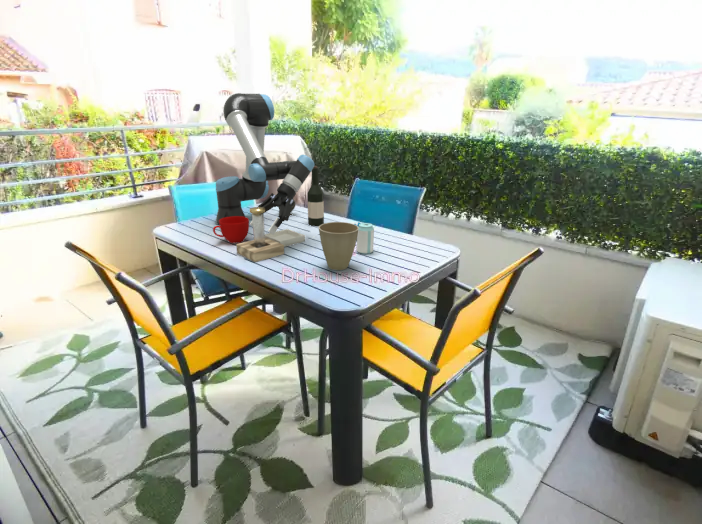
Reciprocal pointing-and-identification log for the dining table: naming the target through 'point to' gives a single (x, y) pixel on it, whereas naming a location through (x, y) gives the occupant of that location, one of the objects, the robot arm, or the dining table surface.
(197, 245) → the dining table surface
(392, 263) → the dining table surface
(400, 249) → the dining table surface
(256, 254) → the socket block
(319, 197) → the wine bottle
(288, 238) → the tray
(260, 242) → the pin
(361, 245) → the can
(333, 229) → the plant pot
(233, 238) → the ceramic cup
